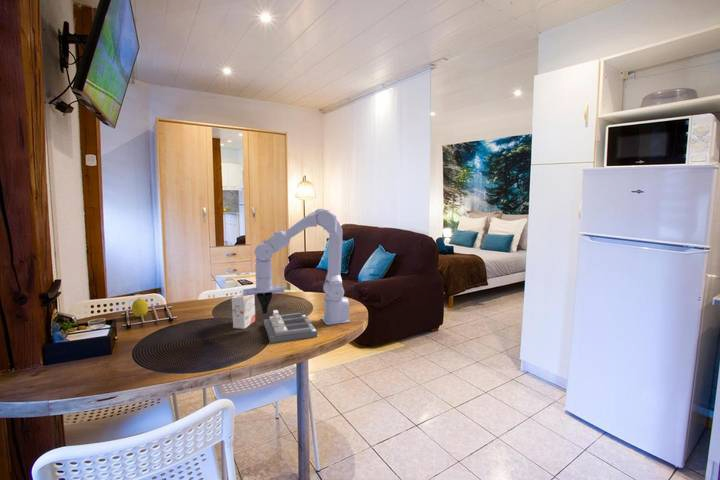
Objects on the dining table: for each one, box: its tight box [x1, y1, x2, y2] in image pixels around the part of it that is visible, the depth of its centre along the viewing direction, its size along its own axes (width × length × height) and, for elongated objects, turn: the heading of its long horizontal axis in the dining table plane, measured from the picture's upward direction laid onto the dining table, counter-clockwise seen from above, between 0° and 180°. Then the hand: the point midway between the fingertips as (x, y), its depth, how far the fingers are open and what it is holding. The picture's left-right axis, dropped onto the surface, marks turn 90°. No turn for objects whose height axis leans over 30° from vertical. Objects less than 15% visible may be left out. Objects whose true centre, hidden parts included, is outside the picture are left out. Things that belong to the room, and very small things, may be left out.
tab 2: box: [272, 314, 285, 329], centre depth 126 cm, size 4×4×4 cm
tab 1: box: [269, 309, 282, 322], centre depth 131 cm, size 4×4×4 cm
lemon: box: [131, 297, 149, 318], centre depth 140 cm, size 6×6×8 cm
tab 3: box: [274, 320, 288, 334], centre depth 121 cm, size 4×4×4 cm
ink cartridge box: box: [231, 284, 256, 330], centre depth 133 cm, size 9×5×15 cm, turn 168°
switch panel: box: [263, 312, 318, 344], centre depth 128 cm, size 16×18×3 cm
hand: (264, 312), depth 130 cm, fingers closed
